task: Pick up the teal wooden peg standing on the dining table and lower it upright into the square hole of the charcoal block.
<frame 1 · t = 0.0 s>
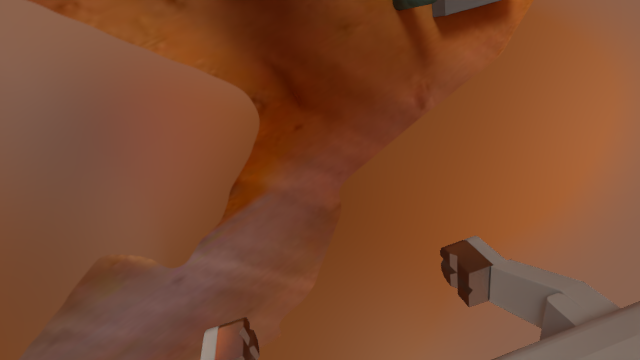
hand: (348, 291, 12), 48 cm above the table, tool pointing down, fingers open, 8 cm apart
teal peg: (400, 0, 52), on the table
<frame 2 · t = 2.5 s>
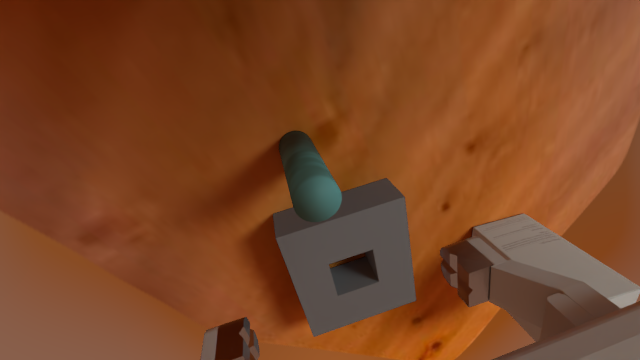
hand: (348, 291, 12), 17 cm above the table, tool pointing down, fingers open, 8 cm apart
supplement box: (493, 241, 38), on the table
teal peg: (295, 146, 27), on the table
hole block: (343, 248, 33), on the table
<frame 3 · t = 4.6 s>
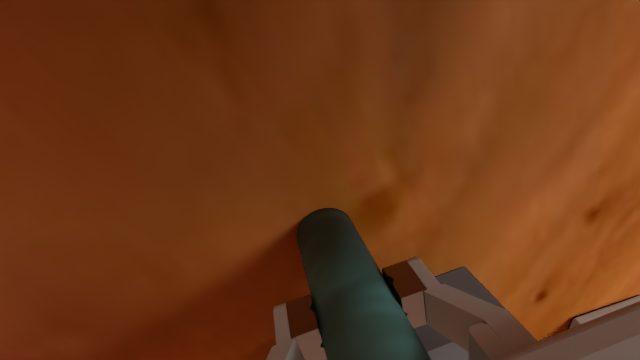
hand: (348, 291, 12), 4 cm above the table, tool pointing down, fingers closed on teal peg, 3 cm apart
supplement box: (593, 330, 27), on the table
teal peg: (325, 233, 15), on the table, touching gripper
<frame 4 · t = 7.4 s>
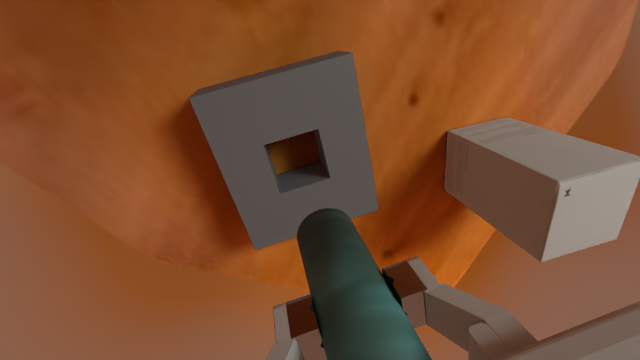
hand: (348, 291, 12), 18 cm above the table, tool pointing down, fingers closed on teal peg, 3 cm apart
supplement box: (473, 154, 33), on the table
teal peg: (325, 233, 15), point 14 cm above the table, touching gripper
hole block: (292, 146, 28), on the table
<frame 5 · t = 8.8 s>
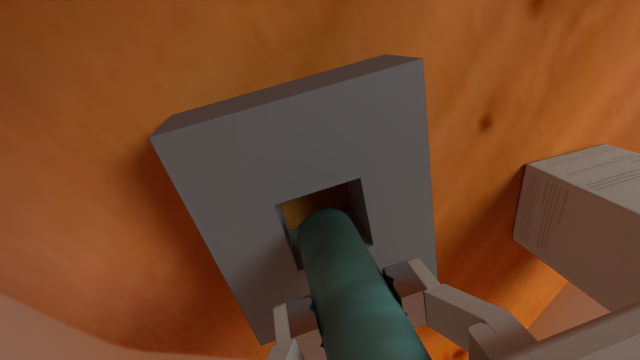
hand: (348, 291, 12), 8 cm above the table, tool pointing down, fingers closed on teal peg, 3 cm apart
supplement box: (553, 192, 24), on the table
teal peg: (325, 233, 15), point 4 cm above the table, touching gripper
hole block: (313, 192, 19), on the table
when the fingers open (6 cm above the table, at t = 10.0 s): teal peg drops 1 cm, resting in hole block.
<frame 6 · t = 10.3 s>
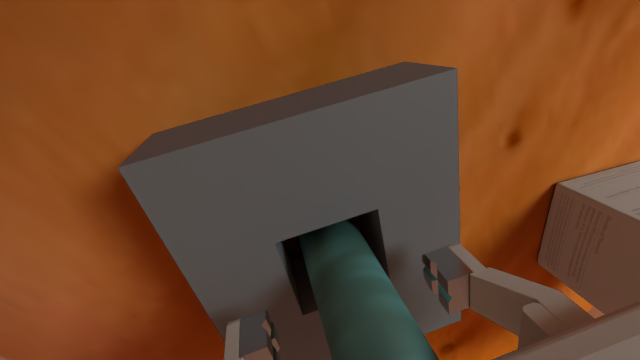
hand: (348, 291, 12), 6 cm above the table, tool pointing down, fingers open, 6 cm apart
supplement box: (583, 212, 22), on the table
teal peg: (320, 217, 17), resting in hole block
hole block: (319, 218, 17), on the table
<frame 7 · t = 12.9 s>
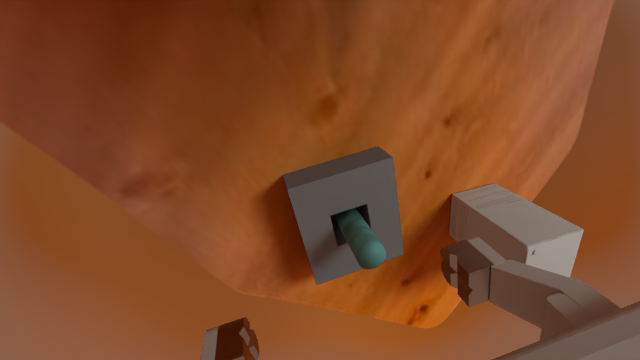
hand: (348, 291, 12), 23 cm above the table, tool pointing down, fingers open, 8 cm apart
supplement box: (470, 208, 44), on the table
teal peg: (342, 208, 38), resting in hole block
hole block: (341, 209, 38), on the table
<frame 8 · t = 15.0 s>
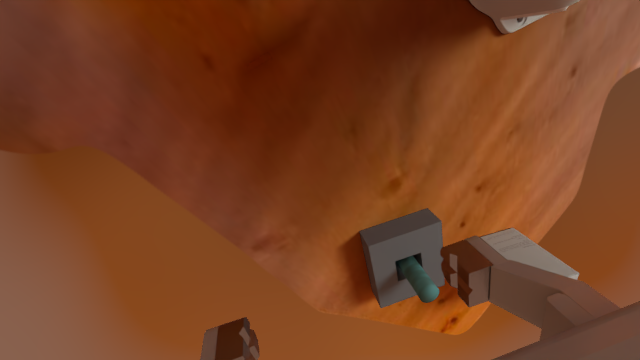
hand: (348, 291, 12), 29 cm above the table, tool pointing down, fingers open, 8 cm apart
supplement box: (493, 246, 57), on the table
teal peg: (398, 251, 51), resting in hole block
hole block: (398, 251, 51), on the table
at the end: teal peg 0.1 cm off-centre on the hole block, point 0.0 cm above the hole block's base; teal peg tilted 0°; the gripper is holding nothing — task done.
